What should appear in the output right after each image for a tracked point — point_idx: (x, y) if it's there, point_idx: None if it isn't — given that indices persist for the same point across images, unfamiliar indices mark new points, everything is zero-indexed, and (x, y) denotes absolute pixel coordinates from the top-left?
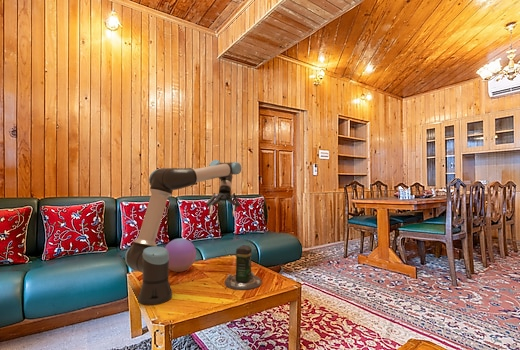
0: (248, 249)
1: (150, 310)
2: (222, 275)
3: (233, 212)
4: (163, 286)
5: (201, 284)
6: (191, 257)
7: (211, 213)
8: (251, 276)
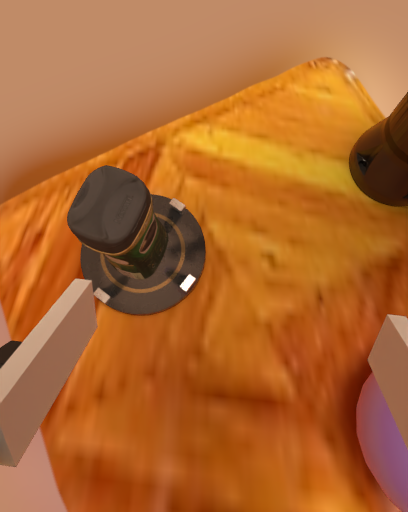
0: (88, 178)
1: (376, 106)
2: (214, 339)
3: (75, 290)
4: (383, 120)
5: (282, 254)
6: (374, 379)
7: (385, 359)
8: (108, 285)
